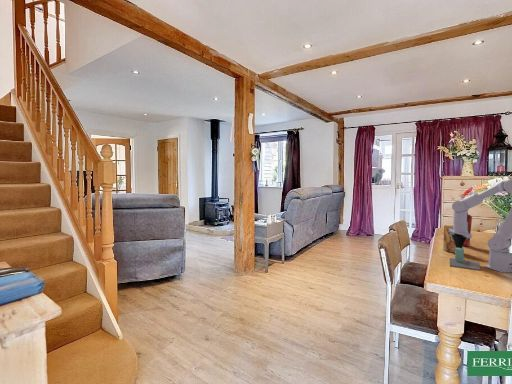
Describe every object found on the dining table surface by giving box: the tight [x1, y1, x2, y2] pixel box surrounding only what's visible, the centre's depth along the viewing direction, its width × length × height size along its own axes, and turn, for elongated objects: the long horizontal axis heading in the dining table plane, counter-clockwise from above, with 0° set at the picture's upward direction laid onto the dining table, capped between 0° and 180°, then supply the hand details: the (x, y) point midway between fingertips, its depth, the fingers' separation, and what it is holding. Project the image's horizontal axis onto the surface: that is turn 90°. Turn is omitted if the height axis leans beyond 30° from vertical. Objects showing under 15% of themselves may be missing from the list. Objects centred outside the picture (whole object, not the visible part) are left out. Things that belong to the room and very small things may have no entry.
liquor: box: [463, 210, 473, 248], centre depth 179 cm, size 7×7×28 cm
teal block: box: [454, 247, 465, 262], centre depth 148 cm, size 4×4×6 cm
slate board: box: [449, 257, 481, 271], centre depth 144 cm, size 14×12×1 cm
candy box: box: [442, 224, 464, 254], centre depth 167 cm, size 9×4×15 cm, turn 33°
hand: (459, 248), depth 152 cm, fingers closed
